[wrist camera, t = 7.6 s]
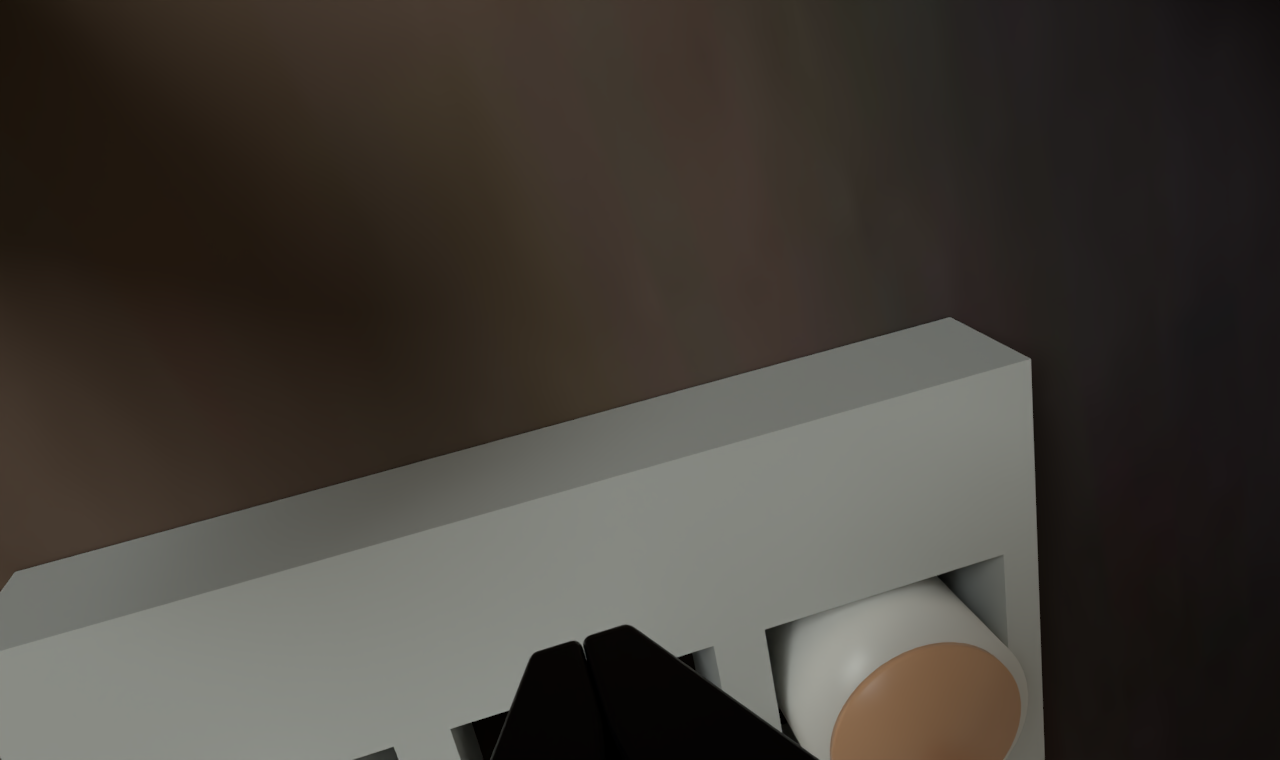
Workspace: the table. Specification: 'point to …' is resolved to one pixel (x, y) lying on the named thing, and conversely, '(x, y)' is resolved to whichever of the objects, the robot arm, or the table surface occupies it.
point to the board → (544, 564)
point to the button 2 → (898, 679)
